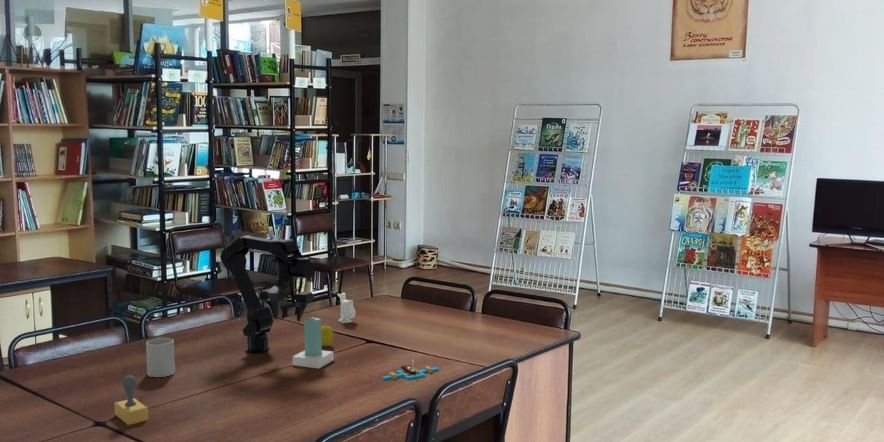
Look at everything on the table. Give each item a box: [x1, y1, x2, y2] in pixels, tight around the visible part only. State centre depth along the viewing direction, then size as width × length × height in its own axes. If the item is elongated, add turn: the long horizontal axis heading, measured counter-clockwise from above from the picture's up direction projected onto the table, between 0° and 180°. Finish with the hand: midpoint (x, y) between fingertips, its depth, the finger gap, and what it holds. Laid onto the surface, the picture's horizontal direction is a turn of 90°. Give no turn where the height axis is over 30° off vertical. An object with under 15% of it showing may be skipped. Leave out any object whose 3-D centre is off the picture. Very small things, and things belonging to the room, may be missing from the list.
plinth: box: [292, 349, 334, 369], centre depth 262 cm, size 10×10×3 cm
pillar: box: [303, 317, 323, 356], centre depth 261 cm, size 4×4×12 cm
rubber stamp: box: [113, 374, 149, 426], centre depth 211 cm, size 10×6×12 cm, turn 41°
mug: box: [145, 337, 176, 377], centre depth 250 cm, size 12×8×11 cm
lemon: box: [321, 324, 334, 347], centre depth 281 cm, size 6×6×8 cm
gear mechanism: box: [381, 360, 439, 381], centre depth 250 cm, size 20×5×9 cm
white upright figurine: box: [337, 292, 356, 324], centre depth 316 cm, size 8×7×12 cm
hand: (287, 320), depth 268 cm, fingers open, 9 cm apart
